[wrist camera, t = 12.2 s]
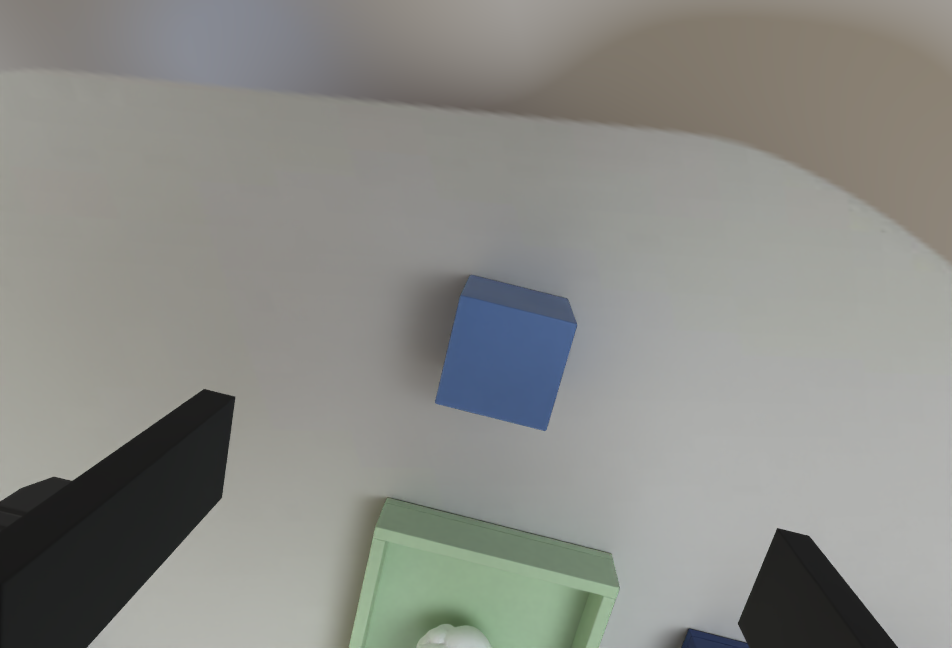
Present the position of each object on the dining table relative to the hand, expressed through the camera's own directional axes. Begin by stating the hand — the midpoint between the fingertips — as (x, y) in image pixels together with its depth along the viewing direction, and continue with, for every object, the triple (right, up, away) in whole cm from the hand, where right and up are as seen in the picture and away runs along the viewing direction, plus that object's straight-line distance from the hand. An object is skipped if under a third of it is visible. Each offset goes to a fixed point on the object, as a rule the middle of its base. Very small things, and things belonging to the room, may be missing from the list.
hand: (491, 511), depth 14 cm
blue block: (+1, +4, +12) cm, 13 cm away
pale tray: (-1, -11, +17) cm, 20 cm away
